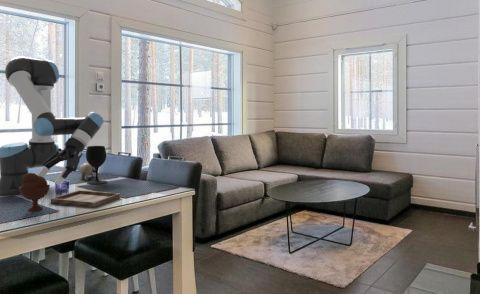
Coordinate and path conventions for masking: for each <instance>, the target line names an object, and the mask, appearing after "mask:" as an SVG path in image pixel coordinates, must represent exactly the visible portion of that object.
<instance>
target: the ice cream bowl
mask: <svg viewBox="0 0 480 294" xmlns="http://www.w3.org/2000/svg"><path fill="white" fill-rule="evenodd" d="M22 182H23V186H21V187H19V192H20V194H19V195H21V197H23V198H24V199H26V200H29V201H32V206H31V207H29V208H28V209H27V212H30V213H31V212H33V213H36V212H41V211H43V210H44V207H42V206H40V205H39V203H38V202H39V200H40V199H41V200H42V199H43V198H44V197H45V196H47V194H48V193H49V190H50V188H51V184H48V180H46V178H45V177H44V178H43V177H41V176H37V173H35V172H28V173H27V174H26V175H24V177H23V180H22Z"/></svg>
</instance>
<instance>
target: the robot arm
mask: <svg viewBox="0 0 480 294" xmlns="http://www.w3.org/2000/svg"><path fill="white" fill-rule="evenodd" d="M4 72H5V73H4V74H5V78H6V80H7V83H8V84H9V85H11V86H12V87H13V88H14V89H15V91H16V92H17V93H18V95H19V96H20V98H21V100H22V101H23V103H24V104H25V106H26V108H27V109H28V112H30V114H31V138H30V139H29V140H28V143H27V142H24V141H23V142H13V143H7V144H4V145H1V146H0V196H1V195H2V196H3V195H4V196H12V195H21V194H20V192H19V187H21V186H23V182H22V180H23V177H24V175H26V174H27V173H29V169H36V168H41V169H40V171H39V172H38V173H36V175H37V176H41V177H43V178H45V176H47V174H48V172H49V171H51V170H50V169H51V168H53V167H54V166H56V165H57V164H59V163H60V162H64V161H66V166H65V168H63V169H62V171H61V172H60V174H59V175H58V176H57V177H56V179H55V180H54V181H53V182H54V183H55V184H56V185H57V186H58V187H61V185H62V184H63V182H64V181H65V180H66V179H67V178H68V176H69V175H70V174H71V173H73V172H76V171H77V169H78V168H79V163H80V160H81V158H82V156H83V151H84V150H85V148H86V147H88V145H89V143H90V142H91V140H92V139H94V137H95V136H96V134H97V133H98V131H99V130H100V129H101V127H102V125H103V124H104V118H103V117H102V116H101V114H100V113H97V112H94V111H91V112H89V113H88V114H87V115H86V116H85V117H56V116H55V114H54V113H53V112H52V104H51V103H52V99H51V97H52V96H51V95H52V94H51V93H52V92H51V90H52V89H54V88H55V84H56V83H58V82H59V79H60V72H59V68H58V66H57V64H56V63H55V62H54V61H53V60H49V59H45V58H35V57H29V56H28V57H26V56H17V57H14V58H12V59H10V60H9V61H8V62H7V64H6V66H5V69H4ZM65 135H66V136H67V135H70V137H69V138H68V139H67V140H66V142H65V143H64V146H65V148H64V149H62V148H60V146H59V145H58V144H57V143H55V142H56V141H55V139H53V138H52V136H65Z"/></svg>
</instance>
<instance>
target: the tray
mask: <svg viewBox="0 0 480 294" xmlns="http://www.w3.org/2000/svg"><path fill="white" fill-rule="evenodd" d="M120 199H121V193H119V192H118V193H117V192H107V191H105V192H104V191H94V190H85V189H84V190H83V189H82V190H81V189H79V190H75V191H72V192H69V193H65V194H62V195H61V194H60V195H58V196H54V197H51V198H50V204H51V205H61V206H71V207H81V208H91V209H95V208H99V207H101V206H103V205H105V204H108V203H112V202H114V201H117V200H120Z"/></svg>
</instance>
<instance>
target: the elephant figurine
mask: <svg viewBox="0 0 480 294" xmlns="http://www.w3.org/2000/svg"><path fill="white" fill-rule="evenodd" d="M93 171H95V168H94V167H92V166H91V165H90V164H89V163H88V161H87V162H84V163H82V164H81V165H80V166H78V172H80V174H81V176H80V180H84V181H89V180H88V177H89V176H91V178H94V173H93Z"/></svg>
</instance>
